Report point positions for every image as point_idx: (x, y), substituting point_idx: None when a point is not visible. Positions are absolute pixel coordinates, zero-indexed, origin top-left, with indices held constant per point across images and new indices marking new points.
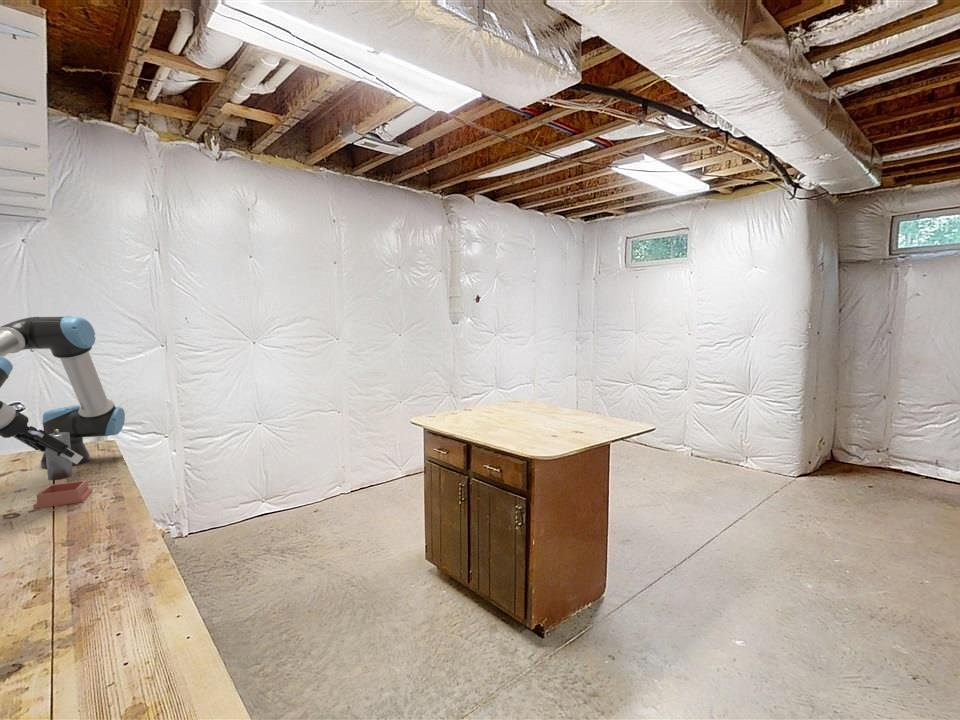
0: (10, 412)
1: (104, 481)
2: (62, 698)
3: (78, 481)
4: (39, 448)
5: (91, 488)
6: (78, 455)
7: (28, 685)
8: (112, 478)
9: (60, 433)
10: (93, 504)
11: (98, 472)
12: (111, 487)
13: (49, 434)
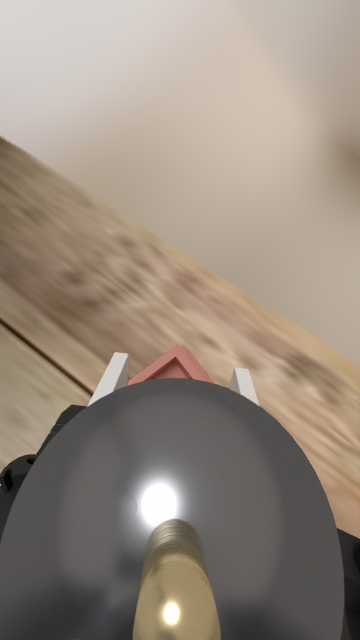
0: None
1: (125, 268)
2: None
3: (157, 360)
4: None
5: (183, 346)
6: (251, 393)
7: None
8: (125, 245)
9: (160, 472)
10: (291, 429)
11: (31, 211)
12: (197, 304)
13: (28, 591)
